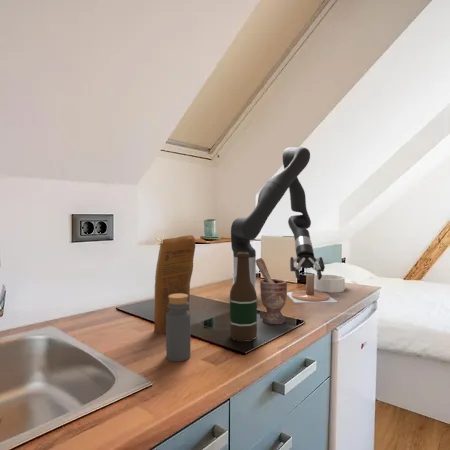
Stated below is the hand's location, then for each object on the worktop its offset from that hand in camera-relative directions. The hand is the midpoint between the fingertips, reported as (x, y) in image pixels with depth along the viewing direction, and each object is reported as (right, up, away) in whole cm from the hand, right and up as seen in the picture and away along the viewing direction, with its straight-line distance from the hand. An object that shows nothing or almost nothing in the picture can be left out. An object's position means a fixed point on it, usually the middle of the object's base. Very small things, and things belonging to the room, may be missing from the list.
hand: (309, 278), depth 141 cm
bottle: (-47, -10, -59) cm, 76 cm away
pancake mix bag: (-51, -9, -37) cm, 63 cm away
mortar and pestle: (-21, -9, -31) cm, 38 cm away
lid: (0, -7, -2) cm, 7 cm away
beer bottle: (-30, -9, -46) cm, 56 cm away
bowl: (+12, -7, +13) cm, 19 cm away
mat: (0, -8, -2) cm, 8 cm away
